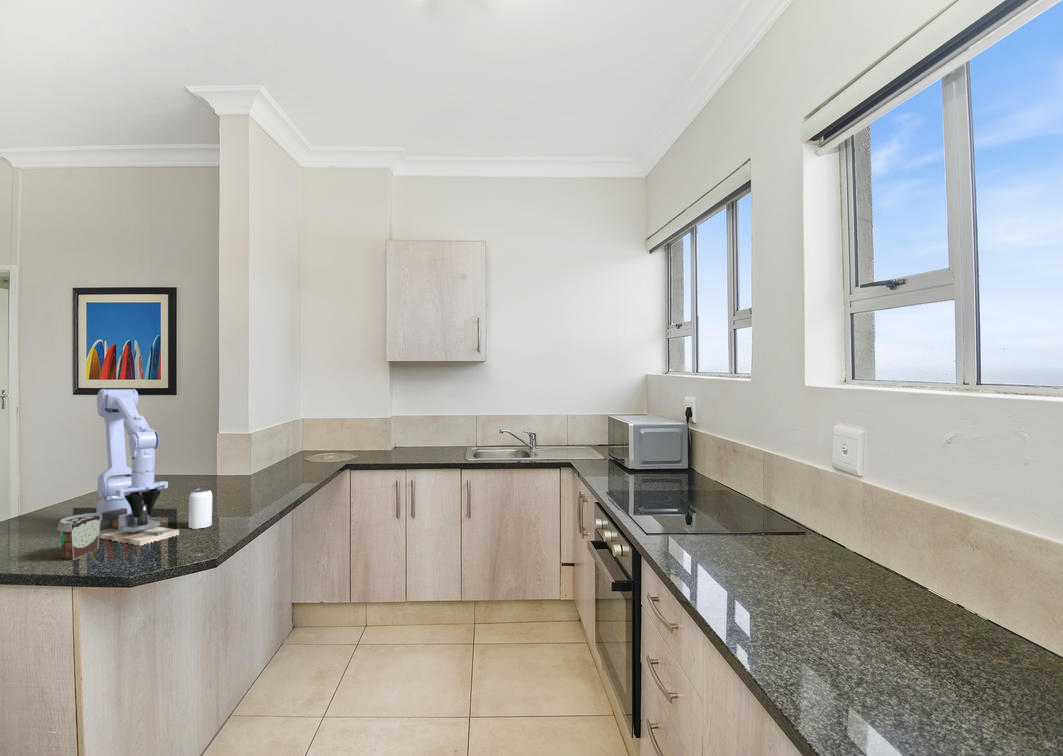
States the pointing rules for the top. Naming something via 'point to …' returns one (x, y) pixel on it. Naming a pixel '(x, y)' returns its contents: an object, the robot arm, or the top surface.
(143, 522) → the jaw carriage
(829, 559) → the top surface
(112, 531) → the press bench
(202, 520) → the can
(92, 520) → the food container
